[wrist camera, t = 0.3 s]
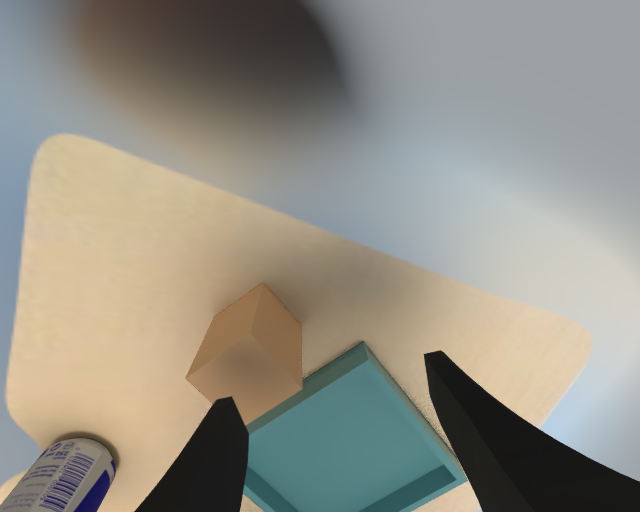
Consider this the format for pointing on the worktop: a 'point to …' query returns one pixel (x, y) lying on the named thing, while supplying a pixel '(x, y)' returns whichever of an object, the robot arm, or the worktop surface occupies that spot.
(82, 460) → the beverage can
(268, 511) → the teal tray
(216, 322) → the tan rectangular block
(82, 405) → the worktop surface
